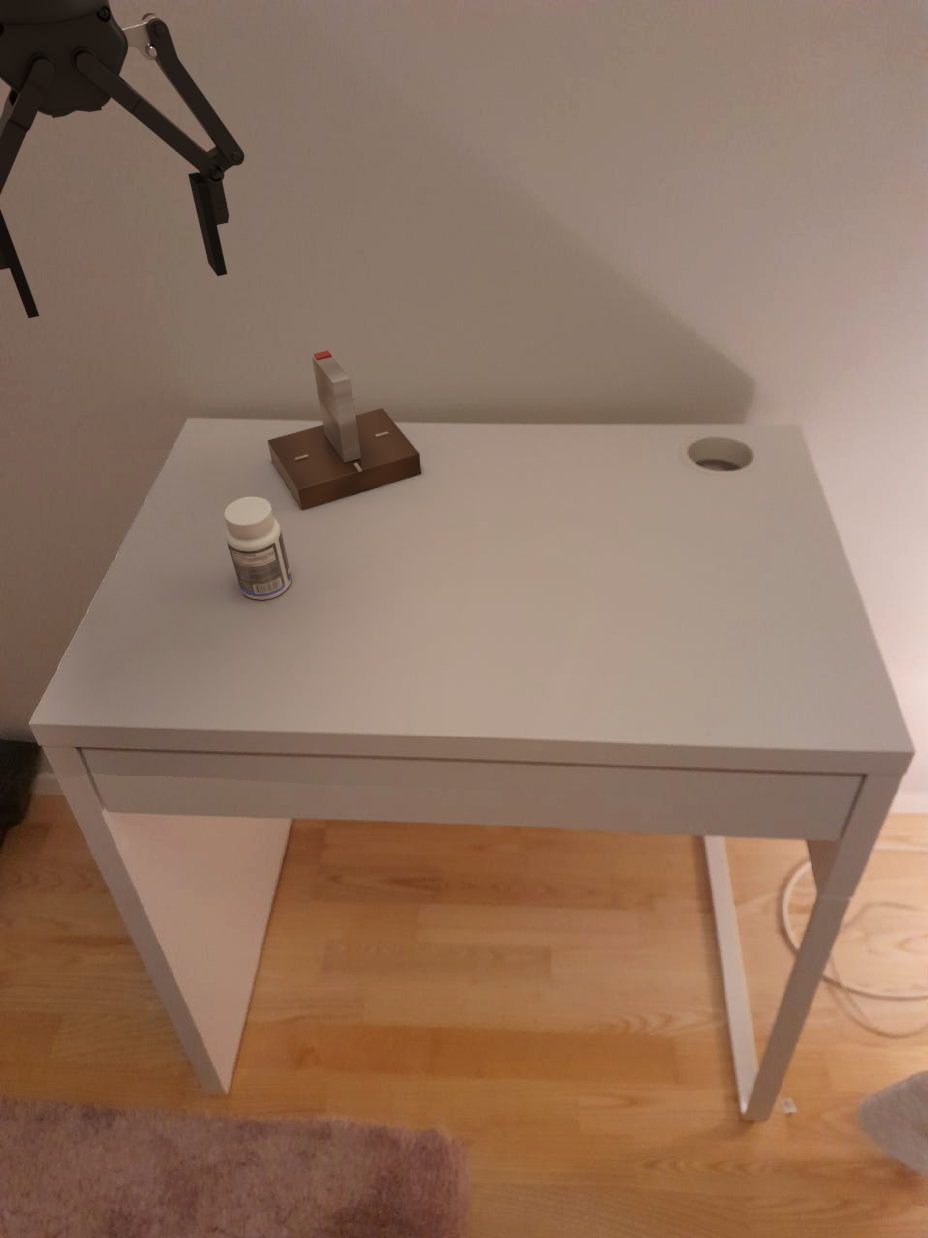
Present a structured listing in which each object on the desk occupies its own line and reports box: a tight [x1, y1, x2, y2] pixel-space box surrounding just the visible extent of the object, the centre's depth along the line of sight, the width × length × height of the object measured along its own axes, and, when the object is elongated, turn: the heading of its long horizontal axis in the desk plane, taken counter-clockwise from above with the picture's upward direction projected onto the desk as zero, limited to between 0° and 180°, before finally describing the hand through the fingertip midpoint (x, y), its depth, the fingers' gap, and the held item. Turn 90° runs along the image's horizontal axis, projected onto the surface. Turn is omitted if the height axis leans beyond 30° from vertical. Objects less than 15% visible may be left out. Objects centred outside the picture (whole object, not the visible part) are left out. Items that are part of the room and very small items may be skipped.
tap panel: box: [267, 407, 422, 510], centre depth 97 cm, size 13×10×3 cm
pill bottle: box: [223, 496, 292, 601], centre depth 82 cm, size 5×5×8 cm
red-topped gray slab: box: [311, 350, 361, 463], centre depth 93 cm, size 6×2×9 cm, turn 26°
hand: (127, 289), depth 69 cm, fingers open, 13 cm apart
